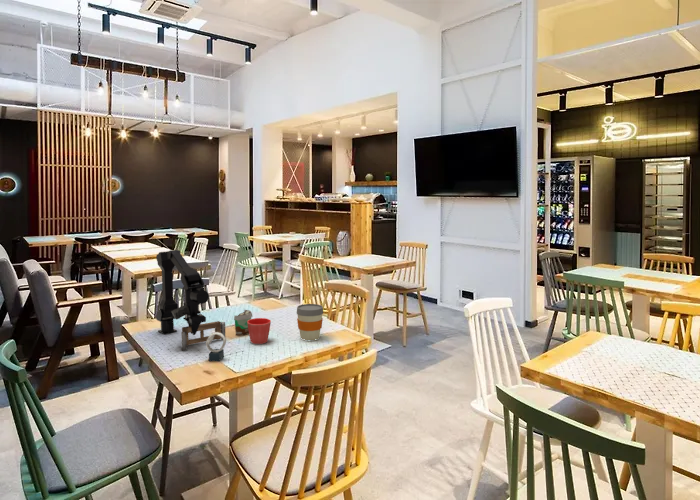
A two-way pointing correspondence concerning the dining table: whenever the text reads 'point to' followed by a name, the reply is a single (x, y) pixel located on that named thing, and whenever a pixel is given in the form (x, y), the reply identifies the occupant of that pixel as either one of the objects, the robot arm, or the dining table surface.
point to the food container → (242, 322)
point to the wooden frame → (201, 328)
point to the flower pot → (259, 330)
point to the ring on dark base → (215, 353)
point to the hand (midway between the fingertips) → (193, 334)
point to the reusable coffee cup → (309, 321)
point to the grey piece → (184, 341)
